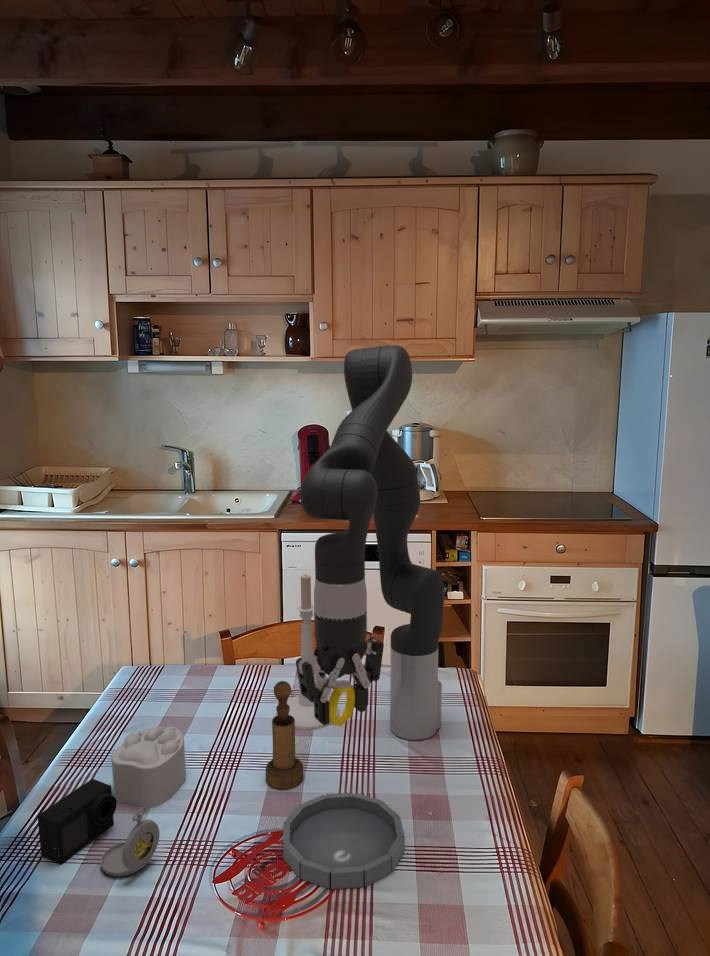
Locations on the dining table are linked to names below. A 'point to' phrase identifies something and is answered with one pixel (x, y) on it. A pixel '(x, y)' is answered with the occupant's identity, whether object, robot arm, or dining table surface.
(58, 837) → the digital camera
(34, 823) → the dining table surface
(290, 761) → the mortar and pestle
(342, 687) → the watch
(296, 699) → the candlestick
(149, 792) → the lumpy-topped squat cylinder
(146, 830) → the pocket watch
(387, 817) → the round dish
